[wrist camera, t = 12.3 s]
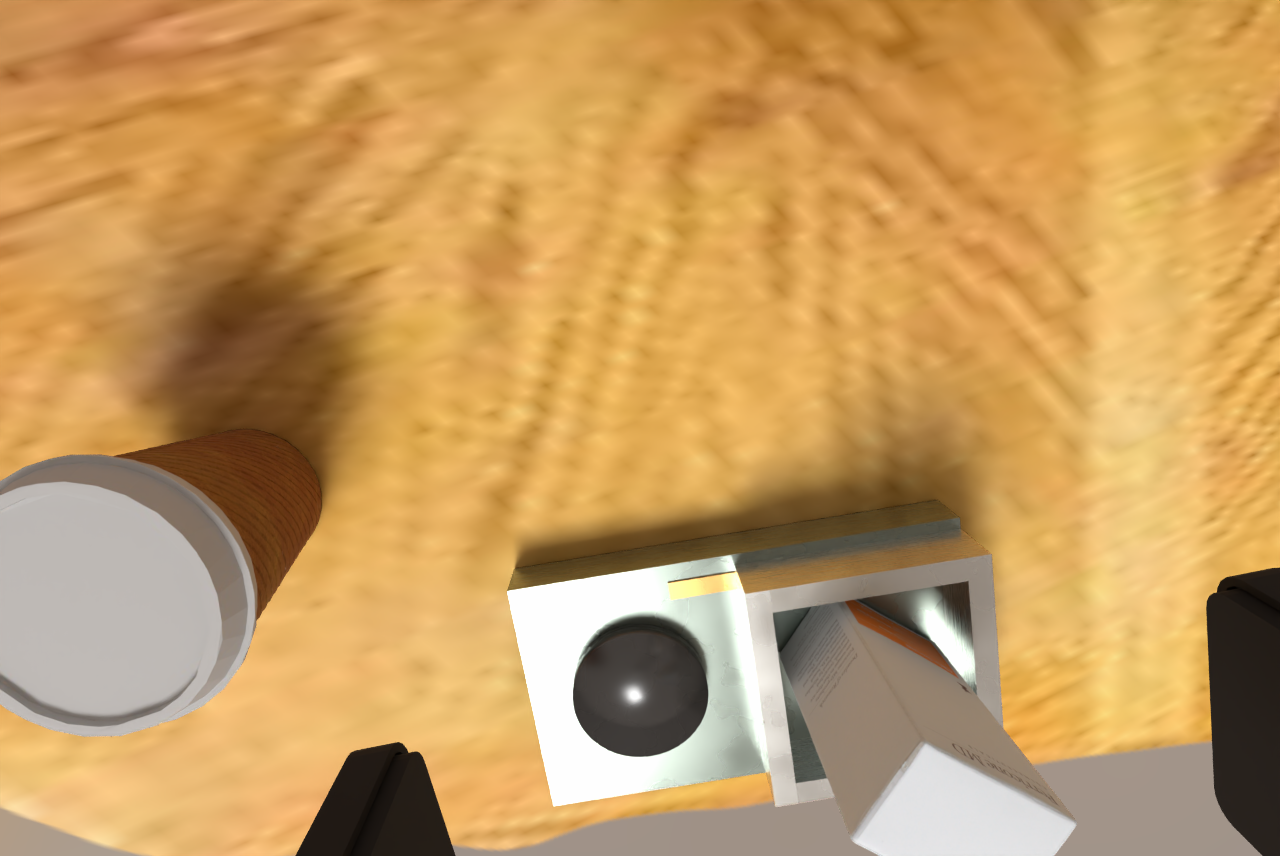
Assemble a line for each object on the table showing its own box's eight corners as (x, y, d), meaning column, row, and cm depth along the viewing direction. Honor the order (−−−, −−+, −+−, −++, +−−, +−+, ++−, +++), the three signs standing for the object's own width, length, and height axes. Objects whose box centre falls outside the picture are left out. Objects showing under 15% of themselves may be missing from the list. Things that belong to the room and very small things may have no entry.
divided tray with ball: (937, 499, 38) (990, 542, 32) (954, 708, 40) (1006, 780, 35) (514, 568, 38) (497, 622, 32) (557, 772, 40) (548, 853, 35)
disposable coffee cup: (323, 620, 38) (193, 787, 26) (122, 552, 37) (-107, 694, 25) (385, 437, 36) (274, 530, 25) (175, 360, 35) (-45, 419, 24)
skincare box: (936, 639, 36) (1087, 826, 25) (884, 712, 37) (1006, 928, 25) (825, 576, 36) (926, 739, 24) (773, 653, 36) (846, 847, 25)
